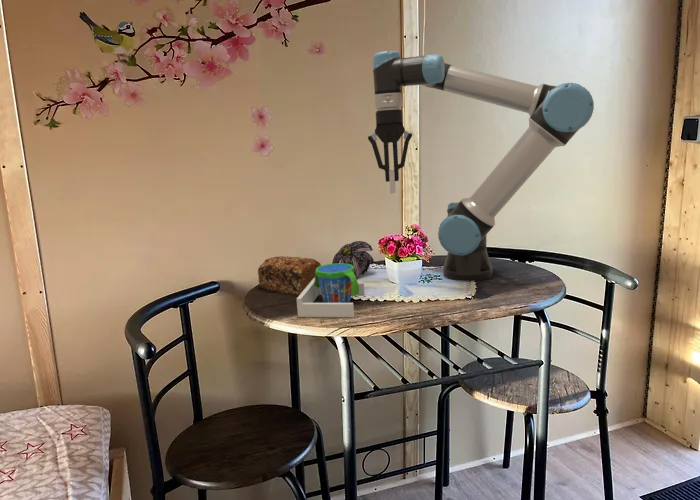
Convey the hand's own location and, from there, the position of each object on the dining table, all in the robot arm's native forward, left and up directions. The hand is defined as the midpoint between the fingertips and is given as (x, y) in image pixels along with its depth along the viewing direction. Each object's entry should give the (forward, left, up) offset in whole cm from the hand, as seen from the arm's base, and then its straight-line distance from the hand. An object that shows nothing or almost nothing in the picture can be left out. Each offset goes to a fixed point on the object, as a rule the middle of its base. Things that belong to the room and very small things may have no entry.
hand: (392, 192), depth 160 cm
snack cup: (+15, +17, -28) cm, 36 cm away
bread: (+32, +3, -28) cm, 43 cm away
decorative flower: (+16, -12, -28) cm, 34 cm away
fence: (+16, +19, -28) cm, 37 cm away
